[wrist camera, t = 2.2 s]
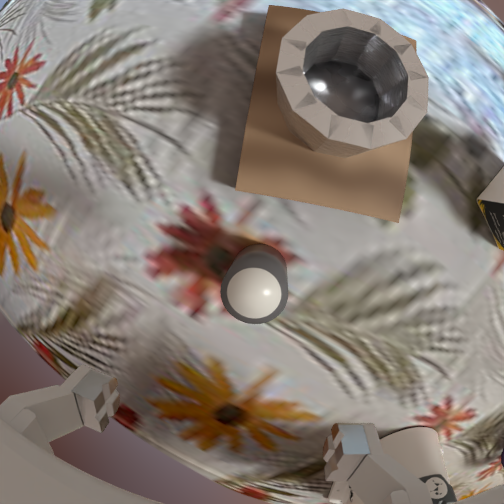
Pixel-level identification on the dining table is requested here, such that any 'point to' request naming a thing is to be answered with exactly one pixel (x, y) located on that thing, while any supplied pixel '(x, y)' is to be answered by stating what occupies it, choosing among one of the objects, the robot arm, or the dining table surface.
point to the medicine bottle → (494, 207)
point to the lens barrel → (349, 83)
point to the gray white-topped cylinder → (256, 285)
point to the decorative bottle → (502, 458)
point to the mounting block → (304, 158)
